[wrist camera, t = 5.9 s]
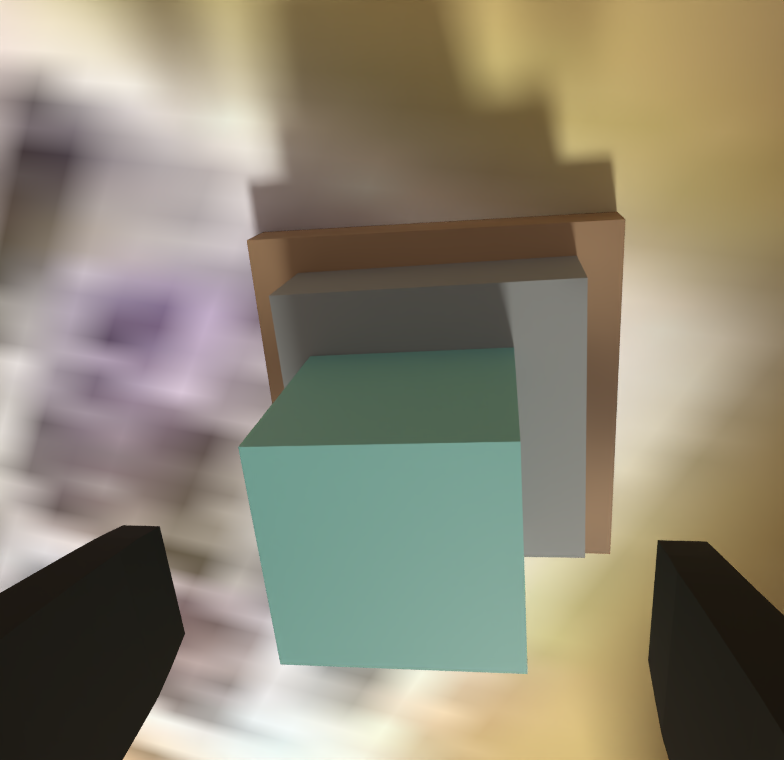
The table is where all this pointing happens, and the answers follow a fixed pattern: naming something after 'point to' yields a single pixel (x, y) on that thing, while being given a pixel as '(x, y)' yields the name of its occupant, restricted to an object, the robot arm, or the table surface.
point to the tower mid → (472, 331)
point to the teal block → (393, 512)
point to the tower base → (476, 244)
